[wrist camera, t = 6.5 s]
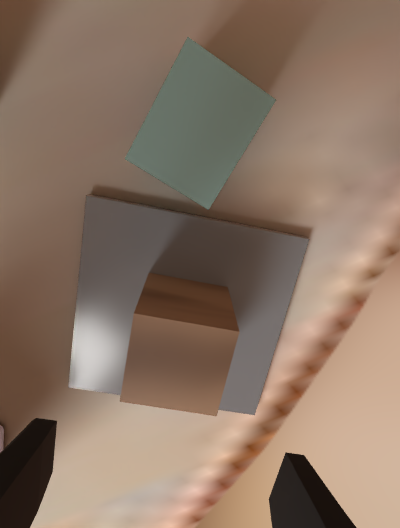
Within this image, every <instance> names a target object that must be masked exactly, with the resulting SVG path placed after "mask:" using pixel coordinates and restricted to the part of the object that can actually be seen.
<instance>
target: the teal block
mask: <svg viewBox="0 0 400 528" xmlns="http://www.w3.org/2000/svg"><path fill="white" fill-rule="evenodd" d="M275 101H276V99H274V98H273V97H272V96H270V95H269V94H267V93H266V92H265V91H263V90H262V89H260V88H259V87H258V86H256V85H255V84H253V83H252V82H251V81H249V80H248V79H246V78H245V77H243V76H242V75H241V74H239V73H238V72H236V71H235V70H234V69H232V68H231V67H229V66H228V65H227V64H225V63H224V62H222V61H221V60H220V59H218V58H217V57H215V56H214V55H213V54H211V53H210V52H208V51H207V50H206V49H204V48H203V47H201V46H200V45H199V44H197V43H196V42H194V41H193V40H192V39H190V38H189V37H187V39H186V41H185V43H184V45H183V47H182V49H181V51H180V53H179V55H178V57H177V59H176V61H175V62H174V64H173V66H172V68H171V70H170V72H169V74H168V76H167V78H166V80H165V82H164V84H163V86H162V88H161V90H160V91H159V93H158V95H157V97H156V99H155V101H154V103H153V105H152V107H151V109H150V111H149V113H148V115H147V117H146V119H145V121H144V122H143V124H142V126H141V128H140V130H139V132H138V134H137V136H136V138H135V140H134V142H133V144H132V146H131V148H130V150H129V152H128V153H127V155H126V157H125V159H126V160H127V161H129V162H131V163H132V164H134V165H136V166H137V167H139V168H140V169H142V170H144V171H145V172H147V173H149V174H150V175H152V176H154V177H155V178H157V179H158V180H160V181H162V182H163V183H165V184H167V185H168V186H170V187H172V188H173V189H175V190H176V191H178V192H180V193H181V194H183V195H185V196H186V197H188V198H190V199H191V200H193V201H195V202H196V203H198V204H199V205H201V206H203V207H204V208H206V209H208V210H209V208H210V207H211V205H212V203H213V202H214V200H215V199H216V197H217V195H218V194H219V192H220V190H221V189H222V187H223V186H224V184H225V182H226V181H227V179H228V177H229V176H230V174H231V173H232V171H233V169H234V168H235V166H236V164H237V163H238V161H239V160H240V158H241V156H242V155H243V153H244V151H245V150H246V148H247V147H248V145H249V143H250V142H251V140H252V139H253V137H254V135H255V134H256V132H257V130H258V129H259V127H260V126H261V124H262V122H263V121H264V119H265V117H266V116H267V114H268V113H269V111H270V109H271V108H272V106H273V104H274V103H275Z"/></svg>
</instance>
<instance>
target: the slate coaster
mask: <svg viewBox="0 0 400 528" xmlns="http://www.w3.org/2000/svg"><path fill="white" fill-rule="evenodd" d="M308 242H309V239H308V238H307V237H305V236H300V235H294V234H289V233H284V232H279V231H274V230H269V229H264V228H259V227H254V226H249V225H244V224H239V223H234V222H228V221H223V220H218V219H213V218H208V217H203V216H198V215H193V214H188V213H183V212H178V211H173V210H168V209H162V208H157V207H152V206H147V205H142V204H137V203H132V202H127V201H122V200H117V199H112V198H107V197H102V196H96V195H91V194H89V195H87V196H86V206H85V216H84V227H83V237H82V248H81V258H80V269H79V279H78V290H77V300H76V311H75V322H74V332H73V343H72V353H71V364H70V374H69V385H68V387H70V388H76V389H83V390H90V391H97V392H103V393H110V394H117V395H121V390H122V384H123V378H124V371H125V365H126V359H127V353H128V346H129V340H130V334H131V327H132V321H133V315H134V311H135V309H136V306H137V303H138V301H139V298H140V295H141V292H142V290H143V287H144V284H145V282H146V279H147V276H148V273H154V274H159V275H165V276H170V277H176V278H181V279H187V280H192V281H197V282H203V283H208V284H214V285H219V286H225V287H228V290H229V294H230V298H231V301H232V305H233V309H234V313H235V316H236V320H237V324H238V328H239V336H238V339H237V343H236V347H235V350H234V354H233V358H232V361H231V365H230V369H229V372H228V376H227V380H226V383H225V387H224V391H223V394H222V398H221V402H220V405H219V409H218V410H224V411H231V412H238V413H244V414H251V415H255V412H256V409H257V406H258V402H259V399H260V396H261V393H262V390H263V386H264V383H265V380H266V377H267V374H268V370H269V367H270V364H271V361H272V357H273V354H274V351H275V348H276V345H277V341H278V338H279V335H280V332H281V329H282V325H283V322H284V319H285V316H286V312H287V309H288V306H289V303H290V300H291V296H292V293H293V290H294V287H295V284H296V280H297V277H298V274H299V271H300V267H301V264H302V261H303V258H304V255H305V251H306V248H307V245H308Z"/></svg>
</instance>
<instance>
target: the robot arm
mask: <svg viewBox="0 0 400 528" xmlns="http://www.w3.org/2000/svg"><path fill="white" fill-rule="evenodd" d="M56 425H57V421H54V420H47V419H39V418H36V419H34V420H32V421H31V422H30V424H29V425H28V426H27V427H26V428H25V429H24V430H23V431H22V432H21V433H20V434H19V435H18V436H17V437H16V438H15V439H14V440H13V441H12V442H11V443H10V444H9V445H8V446H7V447H6V448H5V449H4V450H3V442H4V429H3V427H2V426H1V425H0V528H30V526H31V524H32V522H33V520H34V518H35V516H36V514H37V512H38V509H39V507H40V504H41V501H42V499H43V496H44V493H45V491H46V488H47V485H48V483H49V480H50V477H51V474H52V472H53V460H54V448H55V437H56ZM269 503H270V512H271V521H272V527H273V528H356V526H355V525H354V524H353V523H352V521H351V520H350V519H349V517H348V516H347V515H346V513H345V512H344V510H343V509H342V508H341V506H340V505H339V504H338V502H337V501H336V500H335V498H334V497H333V495H332V494H331V492H330V491H329V490H328V488H327V487H326V486H325V484H324V483H323V481H322V480H321V478H320V477H319V476H318V474H317V473H316V471H315V470H314V469H313V467H312V466H311V465H310V463H309V462H308V460H307V459H306V457H305V456H304V455H299V454H292V453H285V456H284V459H283V462H282V464H281V467H280V470H279V473H278V475H277V478H276V481H275V484H274V486H273V489H272V492H271V495H270V497H269Z"/></svg>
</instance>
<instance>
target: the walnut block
mask: <svg viewBox="0 0 400 528" xmlns="http://www.w3.org/2000/svg"><path fill="white" fill-rule="evenodd" d="M238 336H239V328H238V324H237V320H236V316H235V313H234V309H233V305H232V301H231V298H230V294H229V290H228V287H225V286H219V285H214V284H208V283H203V282H197V281H192V280H187V279H181V278H176V277H170V276H165V275H159V274H154V273H148V276H147V279H146V282H145V284H144V287H143V290H142V292H141V295H140V298H139V301H138V303H137V306H136V309H135V311H134V315H133V321H132V327H131V334H130V340H129V346H128V353H127V359H126V365H125V371H124V378H123V384H122V390H121V396H120V402H126V403H133V404H140V405H146V406H153V407H160V408H166V409H173V410H179V411H186V412H193V413H199V414H206V415H213V416H217V413H218V409H219V405H220V402H221V398H222V394H223V391H224V387H225V383H226V380H227V376H228V372H229V369H230V365H231V361H232V358H233V354H234V350H235V347H236V343H237V339H238Z"/></svg>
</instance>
